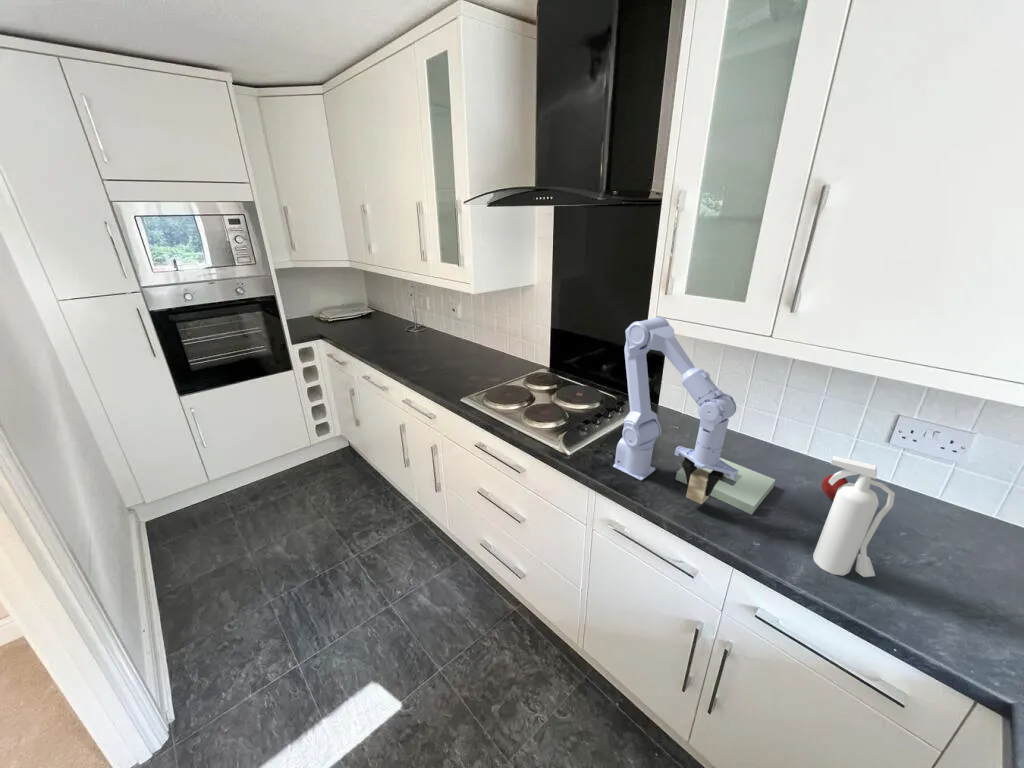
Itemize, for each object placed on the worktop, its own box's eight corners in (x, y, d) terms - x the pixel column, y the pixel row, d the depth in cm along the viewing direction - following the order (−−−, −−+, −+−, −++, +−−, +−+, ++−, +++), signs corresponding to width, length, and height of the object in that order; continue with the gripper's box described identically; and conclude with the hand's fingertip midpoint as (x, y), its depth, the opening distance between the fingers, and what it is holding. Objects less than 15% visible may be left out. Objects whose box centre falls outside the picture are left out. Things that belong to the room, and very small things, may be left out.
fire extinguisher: (869, 592, 84) (912, 485, 75) (799, 560, 92) (829, 460, 83) (875, 574, 88) (915, 471, 79) (807, 544, 96) (837, 448, 87)
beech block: (685, 496, 107) (690, 473, 104) (693, 490, 109) (698, 467, 106) (701, 504, 104) (706, 481, 101) (708, 497, 107) (714, 474, 104)
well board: (675, 479, 118) (676, 471, 117) (700, 457, 128) (702, 450, 127) (751, 514, 105) (753, 506, 104) (773, 487, 115) (775, 479, 114)
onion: (819, 488, 114) (828, 463, 111) (845, 497, 111) (855, 472, 108) (816, 499, 110) (825, 473, 107) (843, 508, 107) (854, 482, 104)
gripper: (672, 437, 103) (664, 483, 108) (734, 462, 93) (721, 511, 98) (686, 427, 107) (677, 472, 112) (746, 450, 97) (733, 498, 103)
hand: (698, 489), depth 106 cm, fingers closed on beech block, 4 cm apart
